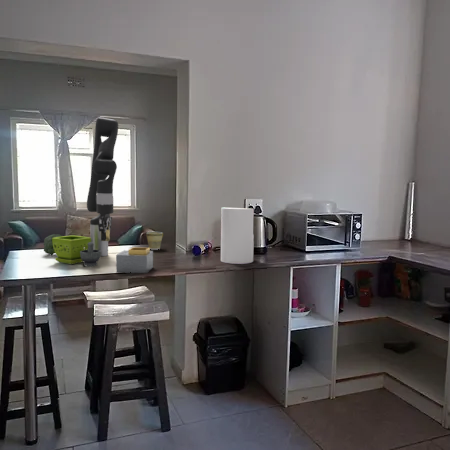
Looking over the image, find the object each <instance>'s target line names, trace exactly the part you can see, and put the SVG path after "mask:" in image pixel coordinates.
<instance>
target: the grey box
mask: <svg viewBox="0 0 450 450" xmlns="http://www.w3.org/2000/svg"><path fill="white" fill-rule="evenodd" d="M115 256H116V259H115V262H116V263H115V264H116V265H115V266H116V269H115V270H116V273H121V274H122V272H125V273H126V274H129V273H130V272H131V273H130V274H148V273H149V272H150V271H151V270H152V269H153V268H154V250H150V248H149V247H137V246H136V247H131V248H130V249H128V250H125V249H124V250H123V251H120V252H119V253H117V254H116V255H115Z"/></svg>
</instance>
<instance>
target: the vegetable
mask: <svg viewBox="0 0 450 450" xmlns="http://www.w3.org/2000/svg"><path fill="white" fill-rule="evenodd" d="M62 236H63V235H61V234H60V233H59V234H55V233H53V234H51V235H48V236H46V237H45V238H44V240H43V247H44V248H43V252H44V253H45V254H47V255H51V256H54V255H55V254H56V253H55V251H54V248H53V243H52V238H54V237H62ZM61 247H62V246H61ZM58 248H59V247H58ZM64 250H65V248H64Z"/></svg>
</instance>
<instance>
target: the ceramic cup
mask: <svg viewBox="0 0 450 450" xmlns="http://www.w3.org/2000/svg"><path fill="white" fill-rule="evenodd" d="M145 236H146V240H147V245H148V248H150V249H151V250H150V251H158V249H159V250H160V249H161V245H162V239H163V237H164V232H161V231H147V232H146V233H145Z"/></svg>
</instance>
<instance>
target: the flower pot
mask: <svg viewBox="0 0 450 450" xmlns="http://www.w3.org/2000/svg"><path fill="white" fill-rule="evenodd" d="M61 236H62V237H54V238H52V243H53V248H54V251H55V253H54V254H55V255H56V257H55V258H54V259H55V261H56V262H58V263H61V264H66V265H67V264H68V265H74V264H81V263H85V262H84V261H82V259H81V255H80V251H83V250H88V243H89V242H91V236H90V237H89V236H83V235H82V236H81V235H64V236H63V235H61ZM61 246H62V247H61ZM58 247H59V248H58ZM64 248H65V250H64Z"/></svg>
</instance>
